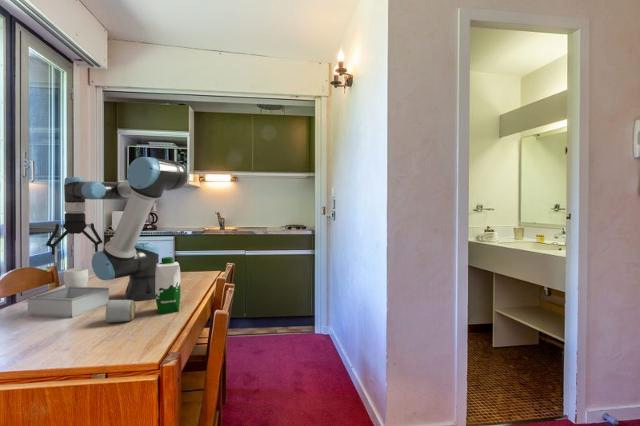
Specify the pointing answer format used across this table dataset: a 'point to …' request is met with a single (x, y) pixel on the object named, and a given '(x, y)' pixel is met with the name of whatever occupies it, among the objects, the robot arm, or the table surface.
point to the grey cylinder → (120, 310)
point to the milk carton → (167, 285)
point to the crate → (68, 302)
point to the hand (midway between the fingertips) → (75, 260)
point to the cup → (76, 277)
